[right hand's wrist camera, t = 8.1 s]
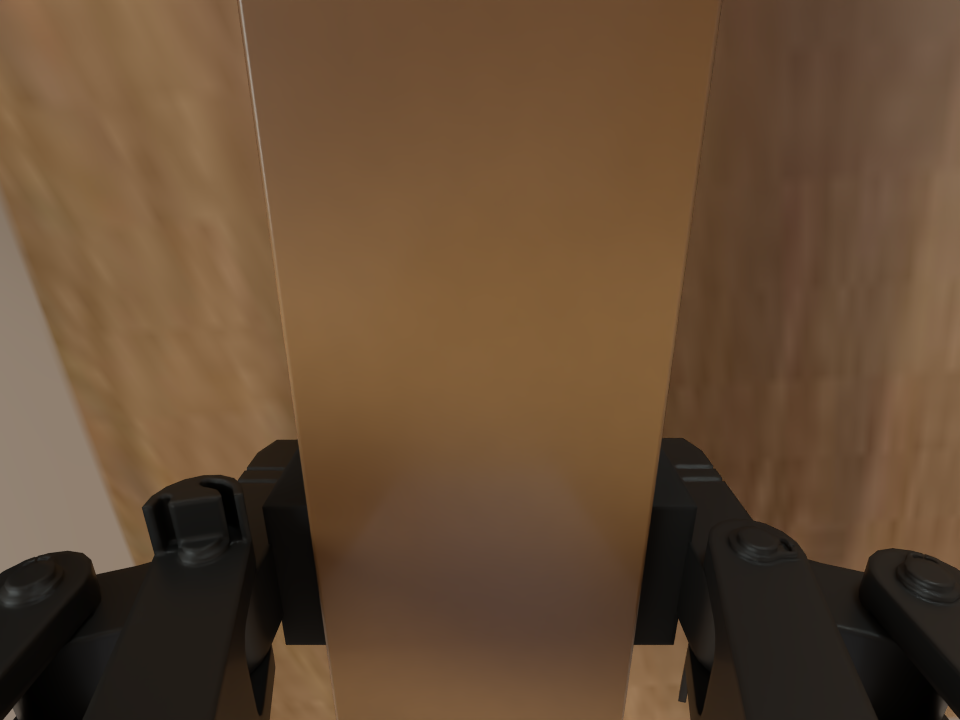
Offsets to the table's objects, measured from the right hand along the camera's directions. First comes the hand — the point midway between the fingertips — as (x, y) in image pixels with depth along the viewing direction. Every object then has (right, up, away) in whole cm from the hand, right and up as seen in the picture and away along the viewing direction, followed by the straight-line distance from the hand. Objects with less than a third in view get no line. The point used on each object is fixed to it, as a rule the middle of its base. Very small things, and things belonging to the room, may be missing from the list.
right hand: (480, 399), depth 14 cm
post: (0, +19, -7) cm, 20 cm away
